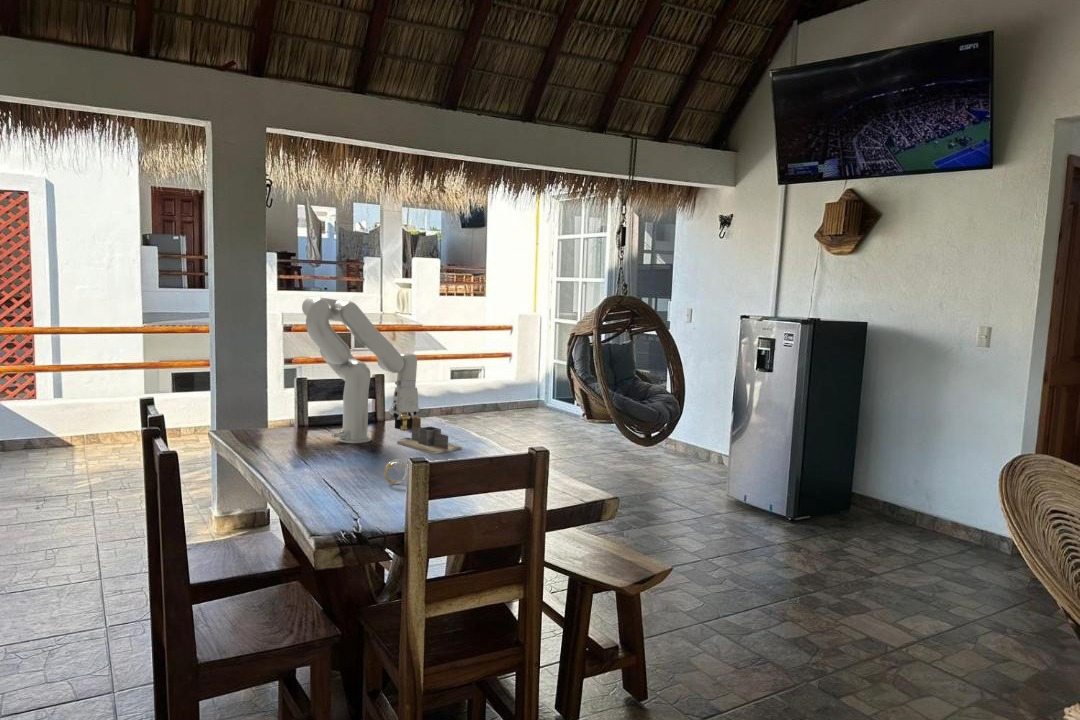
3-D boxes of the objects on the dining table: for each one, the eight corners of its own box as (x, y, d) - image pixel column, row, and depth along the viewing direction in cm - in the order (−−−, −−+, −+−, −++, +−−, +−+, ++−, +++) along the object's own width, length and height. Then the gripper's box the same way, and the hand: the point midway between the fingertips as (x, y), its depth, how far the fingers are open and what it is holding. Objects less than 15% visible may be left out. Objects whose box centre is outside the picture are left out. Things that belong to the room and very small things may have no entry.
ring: (406, 482, 229) (406, 457, 229) (407, 485, 226) (407, 460, 226) (383, 482, 228) (384, 458, 227) (384, 485, 225) (384, 460, 224)
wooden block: (419, 426, 318) (421, 386, 317) (420, 428, 314) (421, 387, 312) (398, 426, 316) (400, 386, 314) (399, 428, 312) (400, 387, 310)
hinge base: (433, 454, 269) (433, 435, 268) (397, 443, 283) (397, 425, 283) (461, 449, 279) (462, 431, 279) (425, 439, 294) (425, 422, 293)
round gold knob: (401, 431, 292) (402, 417, 291) (394, 429, 295) (395, 414, 295) (412, 430, 296) (413, 416, 295) (404, 428, 299) (405, 414, 299)
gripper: (394, 385, 285) (391, 431, 287) (428, 384, 298) (425, 428, 299) (383, 383, 290) (380, 428, 291) (417, 382, 303) (414, 425, 304)
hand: (403, 427), depth 295 cm, fingers closed on round gold knob, 4 cm apart
